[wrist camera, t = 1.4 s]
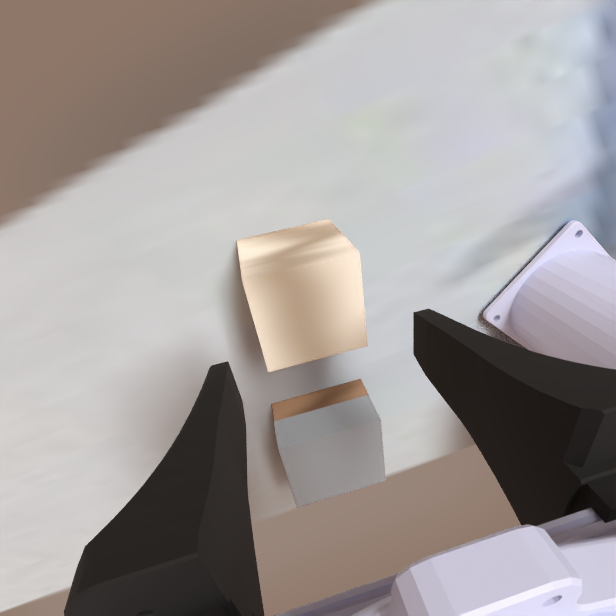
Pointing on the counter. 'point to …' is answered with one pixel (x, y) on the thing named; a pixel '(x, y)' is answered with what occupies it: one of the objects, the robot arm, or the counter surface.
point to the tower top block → (331, 450)
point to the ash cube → (303, 293)
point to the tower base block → (318, 399)
